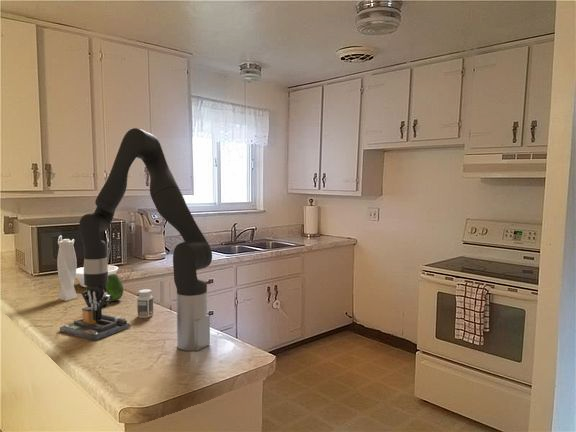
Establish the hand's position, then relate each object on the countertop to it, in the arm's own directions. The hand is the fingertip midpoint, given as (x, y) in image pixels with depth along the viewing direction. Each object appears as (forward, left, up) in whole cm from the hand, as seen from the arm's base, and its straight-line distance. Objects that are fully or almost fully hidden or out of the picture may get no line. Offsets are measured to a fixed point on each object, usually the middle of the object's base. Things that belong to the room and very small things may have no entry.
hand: (97, 319), depth 140 cm
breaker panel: (+1, 0, -4) cm, 4 cm away
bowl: (+55, -42, -4) cm, 69 cm away
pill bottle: (-3, -19, -4) cm, 20 cm away
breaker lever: (+4, 0, -2) cm, 5 cm away
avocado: (+24, -27, -4) cm, 36 cm away
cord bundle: (+1, -6, -2) cm, 6 cm away
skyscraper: (+45, -20, -4) cm, 50 cm away
